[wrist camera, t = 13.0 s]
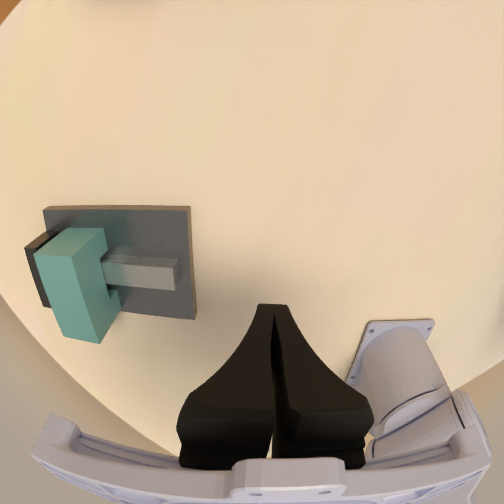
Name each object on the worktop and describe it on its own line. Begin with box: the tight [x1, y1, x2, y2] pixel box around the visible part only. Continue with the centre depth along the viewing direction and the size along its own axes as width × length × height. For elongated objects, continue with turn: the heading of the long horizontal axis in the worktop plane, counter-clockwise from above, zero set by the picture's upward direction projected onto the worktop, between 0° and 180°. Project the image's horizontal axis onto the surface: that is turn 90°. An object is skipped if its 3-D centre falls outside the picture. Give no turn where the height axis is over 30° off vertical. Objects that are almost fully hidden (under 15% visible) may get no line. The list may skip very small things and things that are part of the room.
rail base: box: [24, 205, 197, 320], centre depth 22 cm, size 14×10×4 cm
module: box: [33, 228, 121, 344], centre depth 21 cm, size 4×8×5 cm, turn 179°
